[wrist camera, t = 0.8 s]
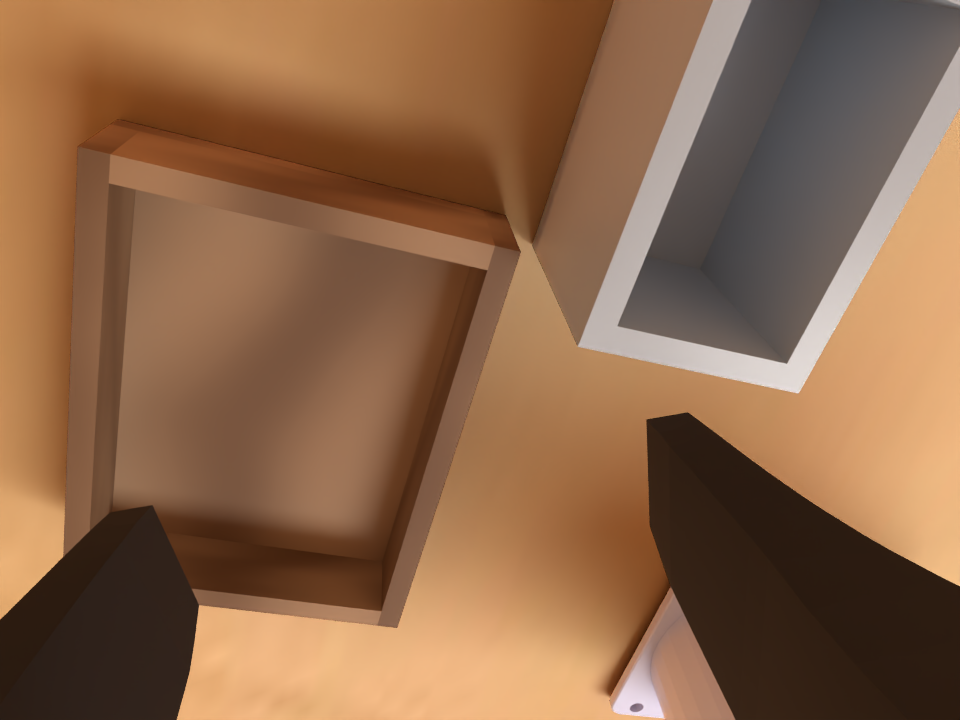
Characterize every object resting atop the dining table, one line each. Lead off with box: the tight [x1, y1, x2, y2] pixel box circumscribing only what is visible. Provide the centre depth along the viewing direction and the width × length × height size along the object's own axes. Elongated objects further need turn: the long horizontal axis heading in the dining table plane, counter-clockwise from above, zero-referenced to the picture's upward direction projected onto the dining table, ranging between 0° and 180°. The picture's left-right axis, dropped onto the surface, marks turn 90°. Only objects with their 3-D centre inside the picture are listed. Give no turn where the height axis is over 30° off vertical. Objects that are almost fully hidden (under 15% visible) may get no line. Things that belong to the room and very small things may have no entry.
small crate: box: [532, 0, 960, 394], centre depth 16 cm, size 5×8×6 cm, turn 164°
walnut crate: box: [63, 119, 521, 628], centre depth 20 cm, size 9×12×2 cm
